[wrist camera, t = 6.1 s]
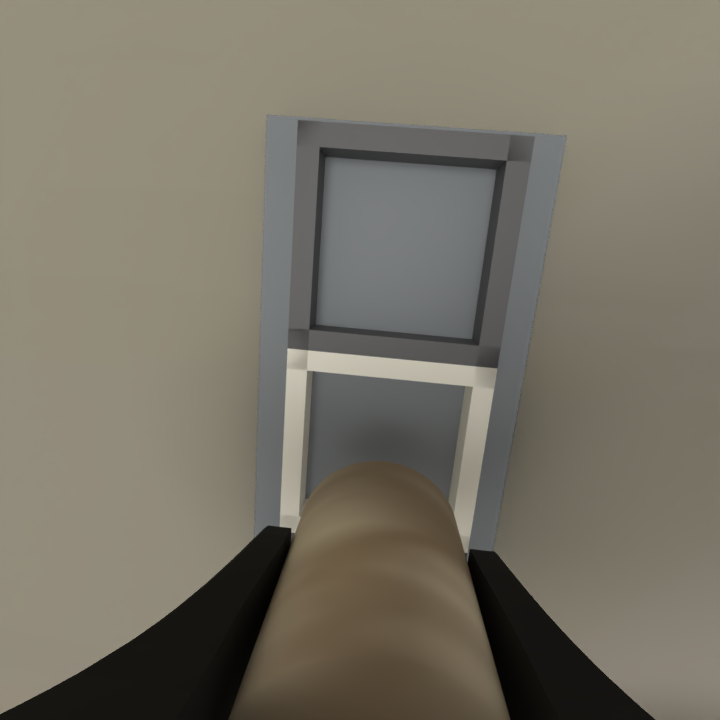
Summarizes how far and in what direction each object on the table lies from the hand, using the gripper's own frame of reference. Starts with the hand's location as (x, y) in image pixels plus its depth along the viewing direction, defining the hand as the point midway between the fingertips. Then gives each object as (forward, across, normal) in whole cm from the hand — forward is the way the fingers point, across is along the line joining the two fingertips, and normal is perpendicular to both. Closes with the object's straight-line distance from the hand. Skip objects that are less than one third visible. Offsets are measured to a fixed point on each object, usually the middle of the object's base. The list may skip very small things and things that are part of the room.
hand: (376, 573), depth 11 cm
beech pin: (+2, 0, 0) cm, 2 cm away
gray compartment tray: (+9, 0, 0) cm, 9 cm away
